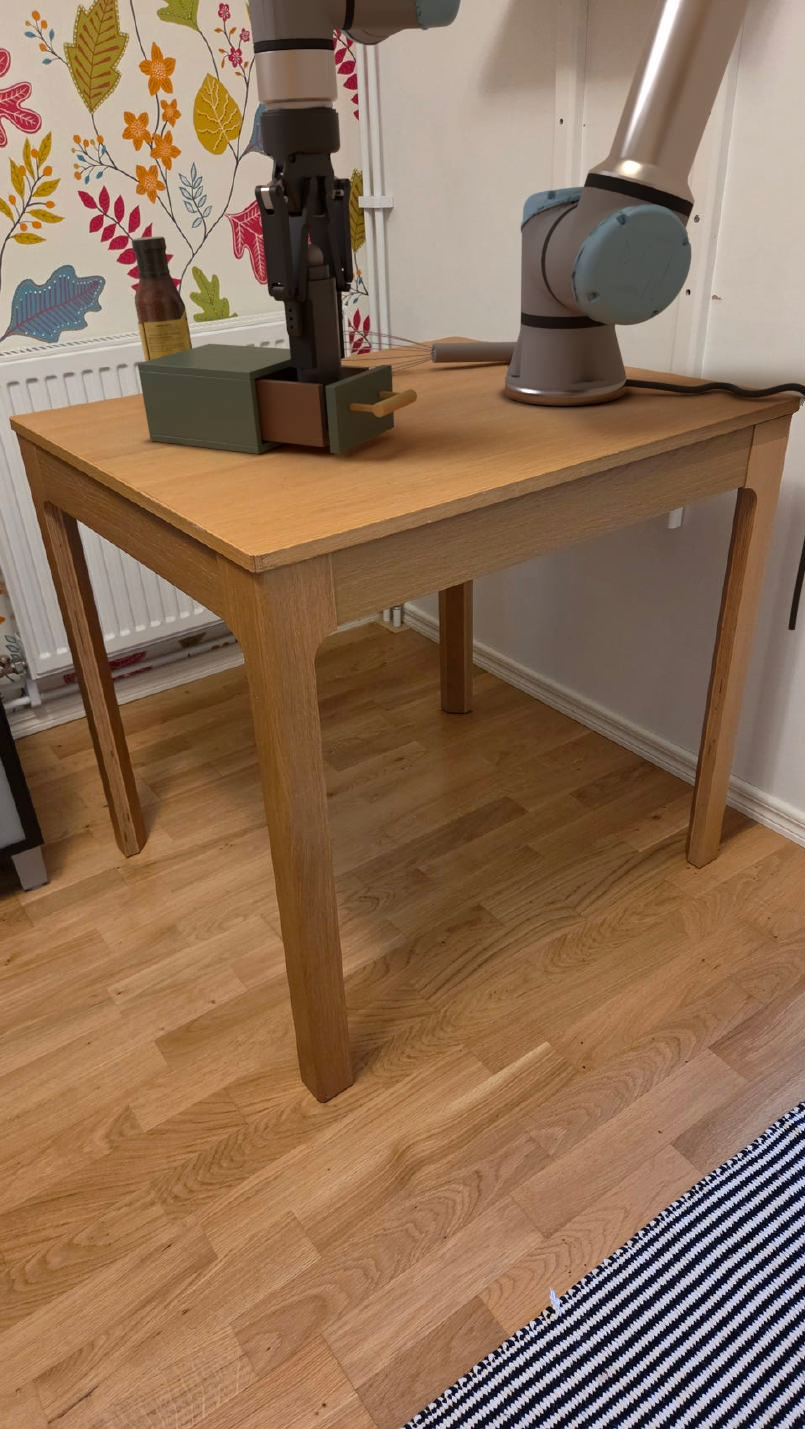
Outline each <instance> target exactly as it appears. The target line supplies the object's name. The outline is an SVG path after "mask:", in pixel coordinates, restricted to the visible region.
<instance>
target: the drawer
mask: <svg viewBox="0 0 805 1429" xmlns="http://www.w3.org/2000/svg"><path fill="white" fill-rule="evenodd" d="M341 366H342V380H341V381H338V382H335V383H333V384H330V385H327V386H326V399H327V412H328V425H329V431H326V421H325V409H324V396H323V384H314V383H302V382H298V377H297V368H292V367H288V368H285V369H282V370H279V371H276V372H273V373H270V374H267V375H264V376H261V377H258V378H255V387H256V396H257V405H258V414H259V423H260V432H261V440H267V441H275V442H284V443H283V444H293V445H302V446H311V447H320V448H324V447H327V446H329V449H330V453H331V454H338V455H341V454H342V453H343V454H344V453H345V452H347V451H349V450H351V449H353V448H356V447H357V446H359V445H361V444H363V443H366V442H367V441H369V440H372V439H374V438H376V437H379V436H380V435H382V434H384V433H387V432H388V431H392V430H393V429H394V428H395V414H394V412H395V411H397V410H400V409H402V408H404V407H406V406H409V405H412V404H413V403H415V402H417V399H418V393H417V392H416V390H414V389H412V388H410V389H409V388H408V389H407V390H405V391H404V390H403V391H402V392H397V391H393V388H394V387H393V373H392V372H393V369H392V368H393V367H392V365H387V364H381V366H379V365H377V366H378V367H372V368H370V367H369V366H362V365H361V366H359V365H348V364H347V365H345V364H341Z"/></svg>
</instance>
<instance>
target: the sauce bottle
mask: <svg viewBox="0 0 805 1429" xmlns="http://www.w3.org/2000/svg"><path fill="white" fill-rule="evenodd" d="M131 247H132V251H133V253H134V254H135V260H136V265H137V270H138V271H137V272H138V273H137V275H138V278H139V280H138V286H137V289H136V292H135V295H134V305H135V306H134V307H135V311H136V315H137V320H138V322H137V326H138V331H139V336H140V341H141V347H142V351H143V356H144V362H145V361H148V360H152V359H156V358H159V357H163V356H167V355H170V354H174V353H178V352H181V351H185V350H188V349H192V348H193V345H192V338H191V332H190V327H189V321H188V315H187V314H188V313H187V309H186V305H185V303H184V301H183V298H182V296H181V294H180V292H179V290H178V288H177V286H176V284H175V281H174V279H173V278H172V275H171V273H170V272H171V271H170V269H169V263H168V257H167V253H166V250H167V244H166V239H165V237H164V236H161V235H160V236H159V235H158V236H144V237H137V238H133V239H131Z"/></svg>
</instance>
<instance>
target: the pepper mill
mask: <svg viewBox="0 0 805 1429" xmlns="http://www.w3.org/2000/svg"><path fill="white" fill-rule="evenodd" d="M322 263H323V254H322V251H321V250H320V248H319V247H318V246H316V245H314V244H311V243H308V260H307V281H306V298H305V301H312V314H313V326H314V339H315V351H316V364H317V368H314V369H305V368H297V377H298V382H302V383H314V384H323V396H324V409H325V421H326V431H329V425H328V412H327V399H326V386H327V385H330V384H333V383H335V382H338V381H341V380H342V366H341V365H342V361H341V360H342V359H341V352H340V337H339V323H338V308H337V293H336V279H335V277H334V276H329V265H328V264H322Z"/></svg>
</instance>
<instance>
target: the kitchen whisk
mask: <svg viewBox="0 0 805 1429" xmlns="http://www.w3.org/2000/svg"><path fill="white" fill-rule="evenodd" d="M343 333H344V336H348V335H365V336H377V337H383V338H388V339H393V340H399V341H402V342H403V341H404V342H407V343H411V344H415V345H418V346H422V348H421V347H416V346H408V345H403V344H402V345H401V344H392V343H383V342H371V341H344V344H346V343H347V344H351V343H353V344H354V343H357V344H373V345H385V346H393V347H394V346H395V347H404V349H402V348H375V347H374V348H372V347H371V348H367V347H360V348H359V347H357V348H355V347H354V348H345V351H347V350H349V351H350V350H352V351H353V350H378V351H380V350H381V351H382V350H383V351H405V352H406V351H408V352H424V353H426V354H416V355H406V356H393V357H378V358H376V357H375V358H361V359H359V358H357V359H341V362H353V361H354V362H357V361H373V360H374V361H376V360H389V359H402V358H413V357H414V358H415V357H422V358H416V359H412V360H407V361H401V362H395V363H388V364H386V365H391V366H392V365H393V366H394V365H400V364H405V363H409V364H405V365H400V366H396V367H392V374H393V373H396V372H400V371H403V370H406V369H409V368H412V367H415V366H419V365H421V364H424V363H427V362H429V361H431V362H432V363H433V364H447V363H450V364H452V363H455V364H456V363H492V362H494V363H497V362H509V359H510V357H511V356H512V355H513V352H514V349H515V346H516V343H517V341H492V342H491V341H488V342H487V341H485V342H484V341H483V342H482V341H481V342H480V341H479V342H436V343H435V342H433V343H432V344H431V346H429V345H428V344H423V343H420V342H417V341H414V340H411V339H407V338H403V337H399V336H394V335H391V334H386V333H379V332H374V331H368V330H367V331H366V330H343ZM424 347H426V348H424ZM405 348H411V349H405ZM429 348H430V349H429ZM424 356H425V357H424ZM426 356H427V357H426ZM410 362H411V363H410ZM381 365H382V364H381ZM381 365H370V366H368V367H369V368H375V367H378V366H381ZM400 368H401V369H400ZM396 369H397V370H396Z"/></svg>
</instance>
